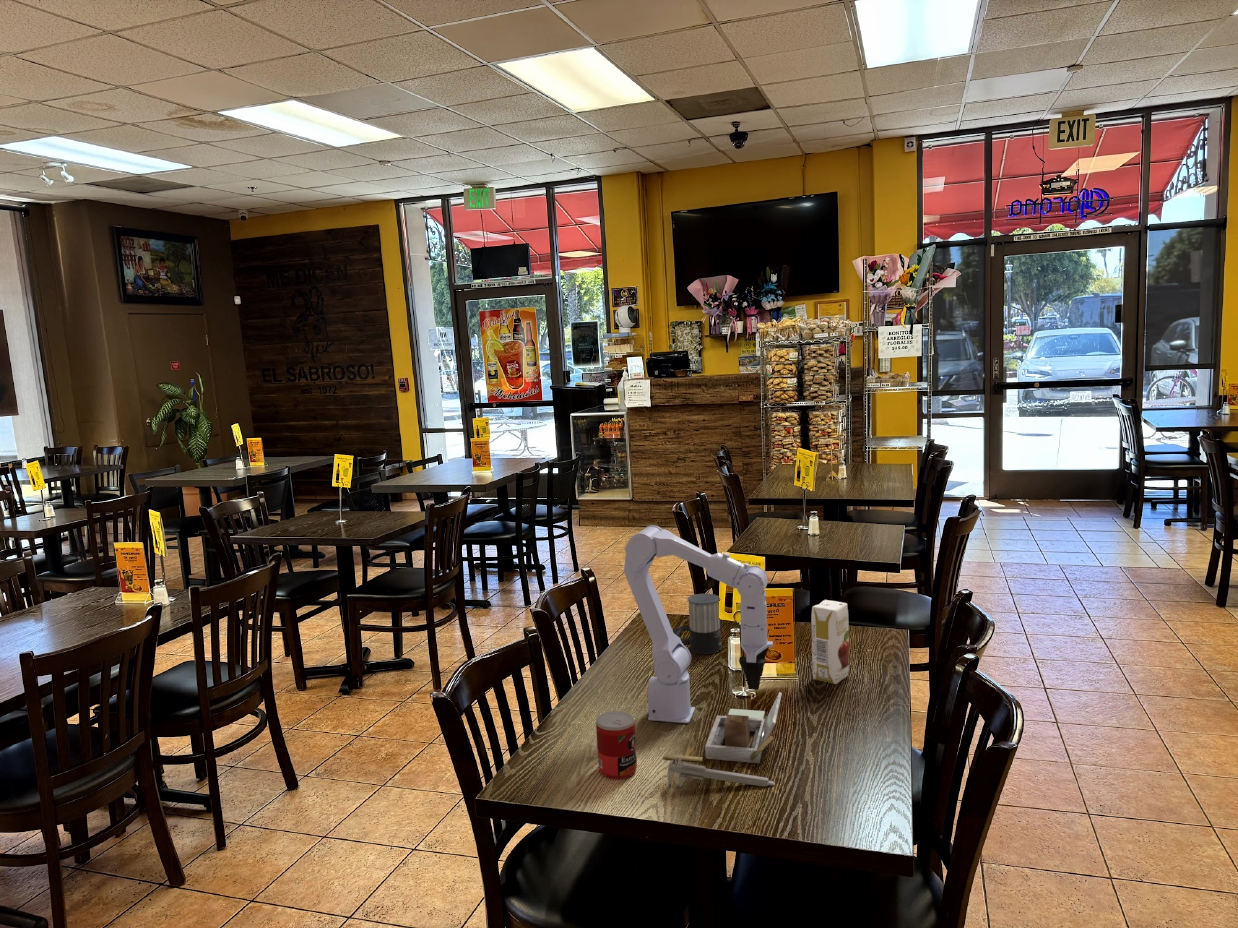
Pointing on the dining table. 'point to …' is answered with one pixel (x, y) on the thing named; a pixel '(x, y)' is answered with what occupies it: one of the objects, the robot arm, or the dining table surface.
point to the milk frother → (703, 624)
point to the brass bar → (683, 757)
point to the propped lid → (768, 727)
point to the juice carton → (830, 641)
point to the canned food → (616, 744)
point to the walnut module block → (737, 731)
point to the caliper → (711, 774)
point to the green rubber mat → (747, 713)
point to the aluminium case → (728, 752)
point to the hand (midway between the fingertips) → (755, 681)
